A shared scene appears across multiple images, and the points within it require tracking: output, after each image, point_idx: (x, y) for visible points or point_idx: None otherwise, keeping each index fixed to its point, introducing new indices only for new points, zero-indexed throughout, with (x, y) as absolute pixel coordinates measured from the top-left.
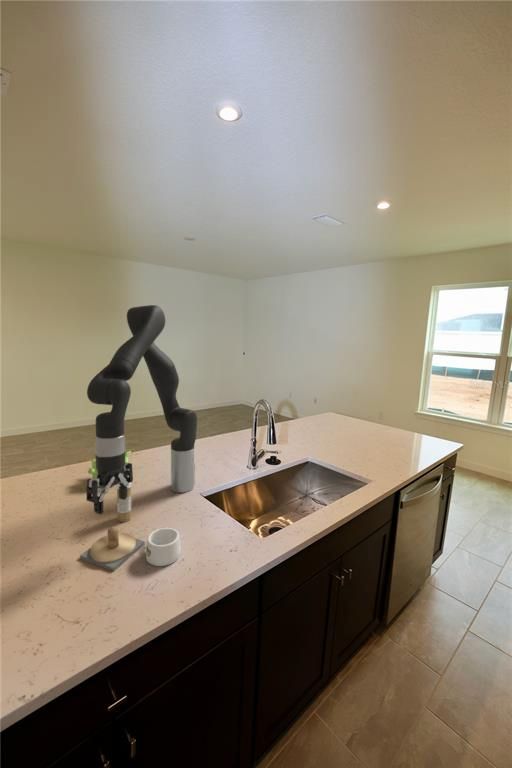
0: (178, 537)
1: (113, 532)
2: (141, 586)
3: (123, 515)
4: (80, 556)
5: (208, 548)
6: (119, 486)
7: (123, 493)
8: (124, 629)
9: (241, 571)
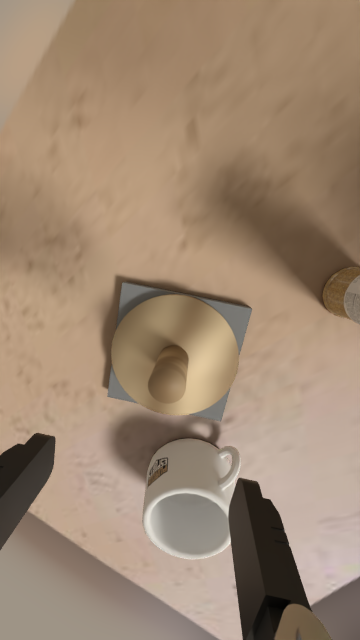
0: (195, 558)
1: (152, 396)
2: (91, 462)
3: (338, 306)
4: (122, 284)
5: None
6: (269, 597)
7: (238, 556)
8: None
9: (179, 605)
